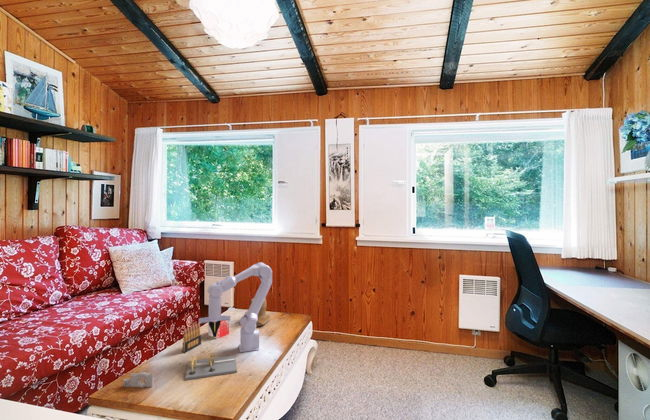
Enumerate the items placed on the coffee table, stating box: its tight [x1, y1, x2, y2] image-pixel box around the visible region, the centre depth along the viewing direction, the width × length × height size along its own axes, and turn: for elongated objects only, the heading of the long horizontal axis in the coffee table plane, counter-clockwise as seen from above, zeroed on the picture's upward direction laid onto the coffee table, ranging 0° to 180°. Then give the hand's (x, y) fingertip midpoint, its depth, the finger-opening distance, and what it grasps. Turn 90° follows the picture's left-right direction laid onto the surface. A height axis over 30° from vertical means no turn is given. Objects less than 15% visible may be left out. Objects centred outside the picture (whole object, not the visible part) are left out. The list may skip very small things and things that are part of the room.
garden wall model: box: [122, 371, 156, 388], centre depth 130 cm, size 12×2×6 cm, turn 91°
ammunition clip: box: [181, 321, 202, 354], centre depth 163 cm, size 11×2×12 cm, turn 157°
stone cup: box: [250, 297, 271, 327], centre depth 198 cm, size 15×12×15 cm
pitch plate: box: [185, 354, 238, 381], centre depth 144 cm, size 21×14×5 cm, turn 109°
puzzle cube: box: [207, 320, 230, 340], centre depth 179 cm, size 8×8×8 cm
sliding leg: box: [207, 352, 215, 370], centre depth 144 cm, size 2×8×3 cm, turn 19°
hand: (214, 336), depth 156 cm, fingers closed
